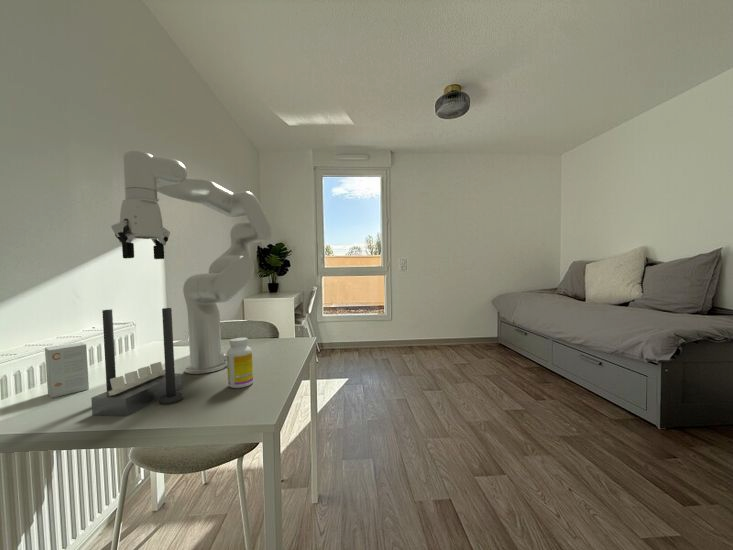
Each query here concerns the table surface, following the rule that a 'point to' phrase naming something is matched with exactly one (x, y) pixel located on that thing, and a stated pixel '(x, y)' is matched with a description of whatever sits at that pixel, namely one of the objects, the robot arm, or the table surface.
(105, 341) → the cable upright
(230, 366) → the supplement bottle
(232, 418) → the table surface
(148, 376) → the breaker paddles
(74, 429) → the table surface
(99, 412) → the breaker panel
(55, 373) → the small box
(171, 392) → the cable upright
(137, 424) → the table surface
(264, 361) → the table surface
